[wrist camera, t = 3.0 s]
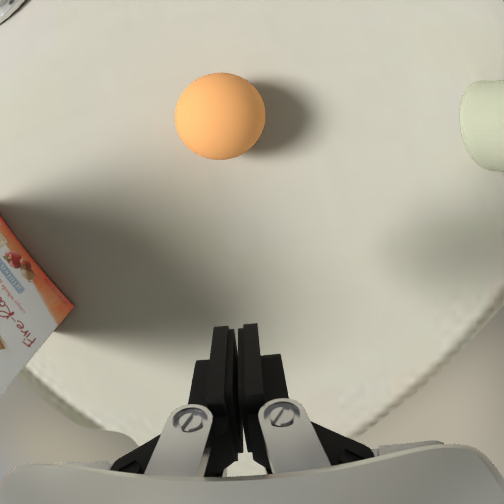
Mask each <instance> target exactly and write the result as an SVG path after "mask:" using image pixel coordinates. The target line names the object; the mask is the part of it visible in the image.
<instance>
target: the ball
mask: <svg viewBox="0 0 504 504" xmlns="http://www.w3.org/2000/svg"><path fill="white" fill-rule="evenodd" d="M265 118H266V115H265V106H264V103H263V100H262V98H261V95H260V94H259V92H258V91H257V90H256V88H255V87H254V86H253V85H252V84H251V83H249V82H248V81H247V80H245V79H243V78H241V77H239V76H236V75H233V74H229V73H214V74H209V75H206V76H203V77H201V78H199V79H197V80H195V81H194V82H193V83H191V84H190V85H189V86H188V87H187V88H186V89H185V90H184V92H183V93H182V95H181V96H180V98H179V100H178V103H177V106H176V111H175V124H176V129H177V132H178V134H179V136H180V138H181V140H182V141H183V143H184V144H185V145H186V146H187V147H188V148H189V149H190V150H191V151H193V152H194V153H196V154H198V155H200V156H202V157H205V158H209V159H215V160H225V159H230V158H234V157H237V156H239V155H241V154H243V153H244V152H246V151H247V150H249V149H250V148H251V147H252V146H253V145H254V144H255V143H256V142H257V140H258V139H259V137H260V135H261V133H262V131H263V128H264V124H265Z"/></svg>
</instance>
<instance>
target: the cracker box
mask: <svg viewBox="0 0 504 504" xmlns="http://www.w3.org/2000/svg"><path fill="white" fill-rule="evenodd" d="M73 308H74V305H73V304H72V303H71V302H70V301H69V300H68V299H67V298H66V297H65V296H64V295H63V294H62V292H61V291H60V290H59V289H58V288H57V287H56V286H55V285H54V283H53V282H52V281H51V280H50V279H49V278H48V277H47V275H46V274H45V273H44V272H43V271H42V269H41V268H40V267H39V266H38V265H37V263H36V262H35V261H34V260H33V259H32V257H31V256H30V255H29V254H28V252H27V251H26V250H25V248H24V247H23V246H22V245H21V243H20V242H19V241H18V239H17V238H16V237H15V235H14V234H13V233H12V231H11V230H10V229H9V227H8V226H7V224H6V223H5V222H4V220H3V219H2V217H1V216H0V399H1V397H2V396H3V394H4V393H5V392H6V390H7V389H8V387H9V386H10V385H11V383H12V382H13V381H14V379H15V378H16V377H17V376H18V374H19V373H20V372H21V371H22V369H23V368H24V367H25V365H26V364H27V363H28V362H29V360H30V359H31V358H32V357H33V355H34V354H35V353H36V352H37V351H38V349H39V348H40V347H41V346H42V344H43V343H44V342H45V341H46V340H47V338H48V337H49V336H50V335H51V334H52V332H53V331H54V330H55V329H56V328H57V327H58V325H59V324H60V323H61V322H62V321H63V320H64V318H65V317H66V316H67V315H68V314H69V313H70V311H71V310H72V309H73Z"/></svg>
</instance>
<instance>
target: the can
mask: <svg viewBox="0 0 504 504" xmlns="http://www.w3.org/2000/svg"><path fill="white" fill-rule="evenodd" d="M459 119H460V129H461V133H462V137H463V140H464V143H465V146H466V148H467V150H468V152H469V154H470V155H471V157H472V158H473V159H474V160H475V161H476V163H478V164H479V165H480V166H481V167H483V168H485V169H487V170H491V171H503V172H504V80H499V81H478V82H475V83H473V84H472V85H470V86H469V87H468V88H467V90H466V91H465V93H464V95H463V98H462V101H461V105H460V113H459Z"/></svg>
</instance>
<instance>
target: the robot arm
mask: <svg viewBox="0 0 504 504" xmlns="http://www.w3.org/2000/svg"><path fill="white" fill-rule="evenodd" d="M24 1H25V0H0V23H2V22H3V21H4V20H5V19H7V18H8V17H9V16H10V15H11V14H12V13H13V12H14V11H16V10H17V9H18V8H19V6H20V5H21V4H22V3H23V2H24ZM243 428H244V434H245V440H246V445H247V450H248V452H252V454H253V460H254V461H256V462H257V463H259V464H260V465H262V466H264V467H265V472H266V475H255V476H237V477H227V467H228V466H229V465H231V464H232V463H233V462H234V461H238V453H243ZM0 504H504V478H503V476H502V475H501V473H500V472H499V471H498V469H497V468H496V467H495V465H494V464H493V463H492V462H491V461H490V459H489V458H488V457H487V456H486V455H484V454H483V453H482V452H481V451H479V450H478V449H476V448H474V447H471V446H467V445H460V444H444V443H442V442H440V441H423V442H415V443H406V444H395V445H382V446H378V449H370V448H369V447H367V446H365V445H363V444H361V443H358V442H356V441H354V440H351V439H349V438H347V437H344V436H342V435H340V434H338V433H335V432H333V431H331V430H329V429H326V428H324V427H322V426H320V425H318V424H316V423H314V422H311V421H310V419H309V417H308V415H307V413H306V411H305V409H304V407H303V406H302V405H301V404H300V403H299V402H297V401H295V400H292V399H289V397H288V392H287V386H286V381H285V375H284V370H283V364H282V359H281V354H273V355H264V356H260V347H259V336H258V326H257V323H255V324H244V325H243V328H240V329H238V353H237V346H236V339H235V332H234V329H229V327H228V326H220V327H214V330H213V338H212V345H211V353H210V360H197V361H196V363H195V368H194V374H193V379H192V385H191V391H190V396H189V402H188V405H184V406H181V407H179V408H177V409H175V410H174V411H173V412H172V413H171V414H170V416H169V417H168V419H167V422H166V424H165V426H164V429H163V431H162V433H161V434H160V435H158V436H157V437H155V438H154V439H152V440H150V441H149V442H147V443H145V444H143V445H142V446H140V447H138V448H137V449H135V450H133V451H132V452H130V453H128V454H126V455H124V456H123V457H121V458H119V459H118V460H117V461H115V462H114V464H110V463H109V462H108V461H101V462H62V463H34V464H26V465H22V466H18V467H16V468H14V469H12V470H11V471H10V472H9V473H8V474H7V475H6V476H5V477H4V479H3V480H2V481H1V483H0Z"/></svg>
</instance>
